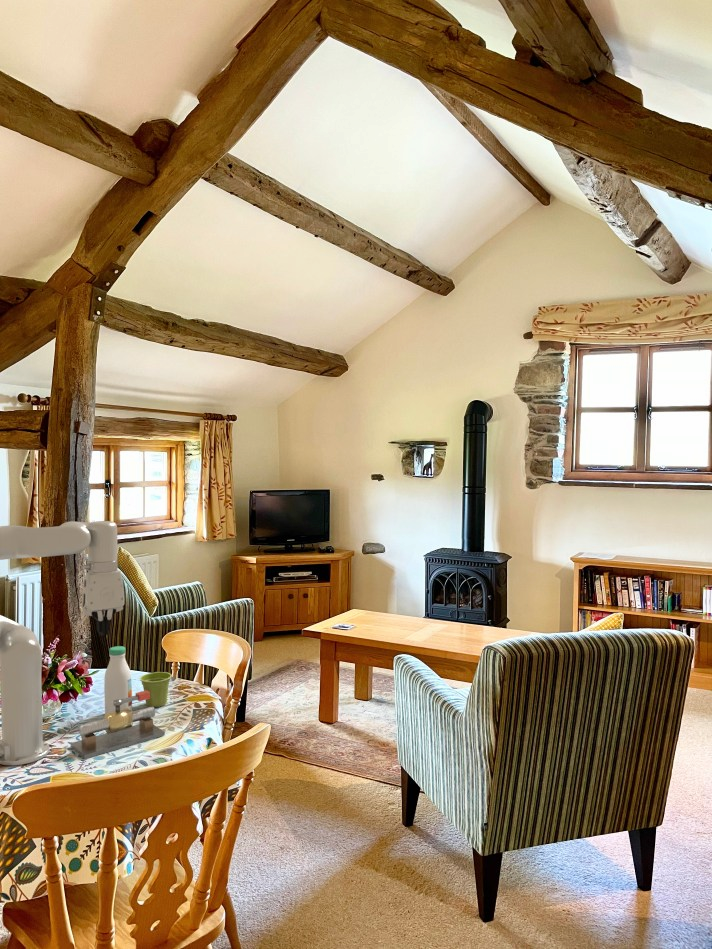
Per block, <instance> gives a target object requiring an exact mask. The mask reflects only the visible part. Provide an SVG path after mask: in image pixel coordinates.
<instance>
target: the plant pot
mask: <svg viewBox="0 0 712 949" xmlns="http://www.w3.org/2000/svg"><path fill="white" fill-rule="evenodd" d="M171 678H172V674H171V673H170V672H167V671H164V672H163V671H155V672H149V673H146V674H143V675H142V676H140V678H139V681H140V682H141V685H142V687H143V688H142V689H143V691H145V690H147V691H149V692H150V699H147V700H145V705H146V706H147V708H148V707H154V708H155V707H157V708H158V707H159V708H161V707H163V706H166V704H167V703H168V695H169V694H168V693H169V685H170V683H171ZM160 706H161V707H160Z"/></svg>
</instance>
